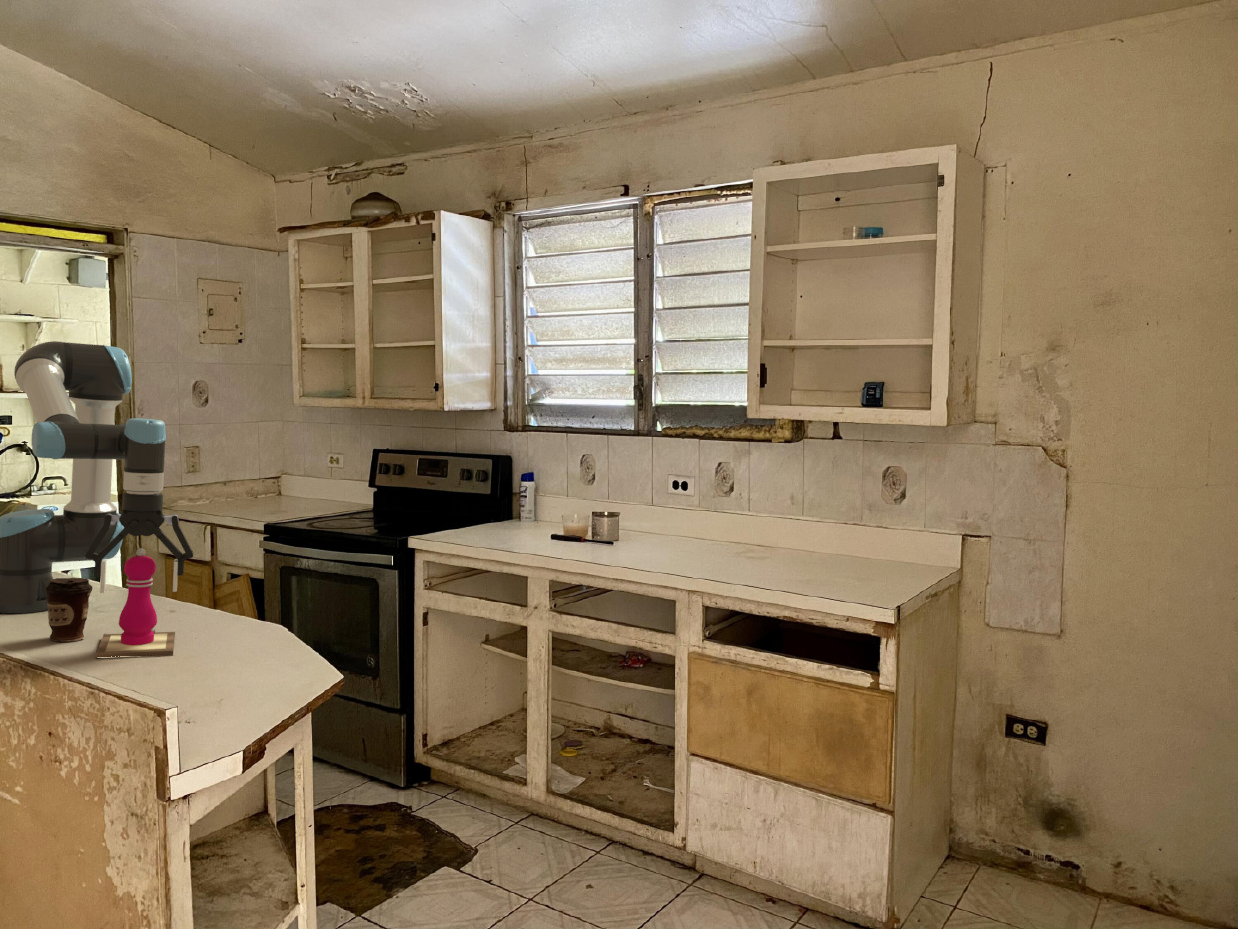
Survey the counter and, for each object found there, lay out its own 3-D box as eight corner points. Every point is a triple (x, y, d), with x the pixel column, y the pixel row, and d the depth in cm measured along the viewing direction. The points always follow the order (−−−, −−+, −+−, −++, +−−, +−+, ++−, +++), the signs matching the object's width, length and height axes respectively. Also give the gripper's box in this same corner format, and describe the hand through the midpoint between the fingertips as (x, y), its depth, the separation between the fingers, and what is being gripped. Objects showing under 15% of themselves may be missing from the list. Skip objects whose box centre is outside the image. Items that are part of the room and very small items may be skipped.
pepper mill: (164, 640, 196) (167, 548, 195) (136, 647, 189) (140, 552, 188) (138, 635, 199) (141, 544, 197) (110, 642, 192) (113, 548, 191)
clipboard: (103, 638, 198) (103, 630, 198) (174, 636, 204) (175, 628, 204) (95, 659, 184) (96, 650, 184) (173, 655, 190) (173, 646, 190)
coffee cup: (67, 646, 191) (69, 585, 190) (33, 641, 193) (35, 581, 192) (98, 636, 200) (100, 578, 199) (66, 632, 201) (68, 574, 201)
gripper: (72, 492, 184) (68, 596, 185) (208, 495, 194) (203, 593, 195) (77, 488, 190) (73, 588, 192) (207, 491, 201) (203, 586, 202)
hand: (139, 591), depth 194 cm, fingers open, 13 cm apart
